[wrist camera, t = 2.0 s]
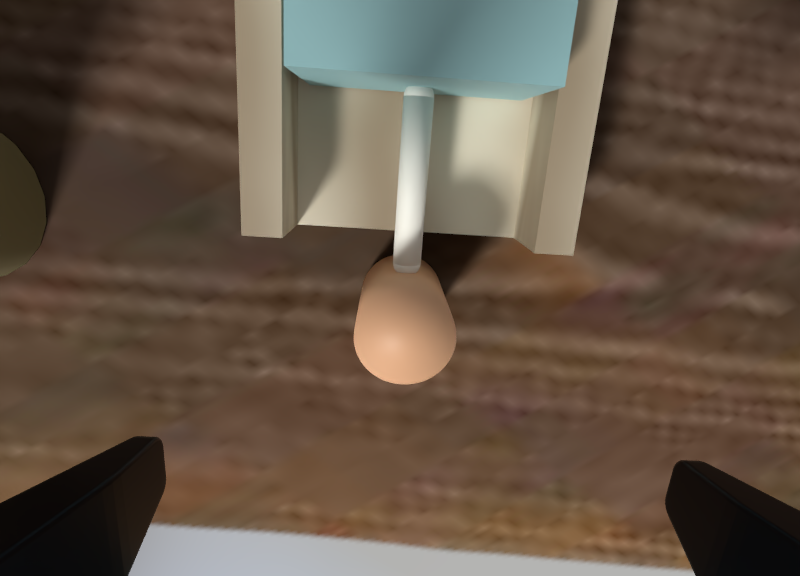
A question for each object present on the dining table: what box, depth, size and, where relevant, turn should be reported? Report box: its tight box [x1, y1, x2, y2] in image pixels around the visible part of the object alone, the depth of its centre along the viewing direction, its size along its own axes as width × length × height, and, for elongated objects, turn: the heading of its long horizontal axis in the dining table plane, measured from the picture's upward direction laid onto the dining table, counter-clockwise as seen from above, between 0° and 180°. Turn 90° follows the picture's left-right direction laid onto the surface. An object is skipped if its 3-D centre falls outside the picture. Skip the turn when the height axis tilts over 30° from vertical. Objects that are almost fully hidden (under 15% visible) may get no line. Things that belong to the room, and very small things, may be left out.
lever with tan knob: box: [284, 0, 578, 384], centre depth 15 cm, size 7×12×5 cm, turn 176°
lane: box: [235, 0, 618, 256], centre depth 15 cm, size 10×10×4 cm
